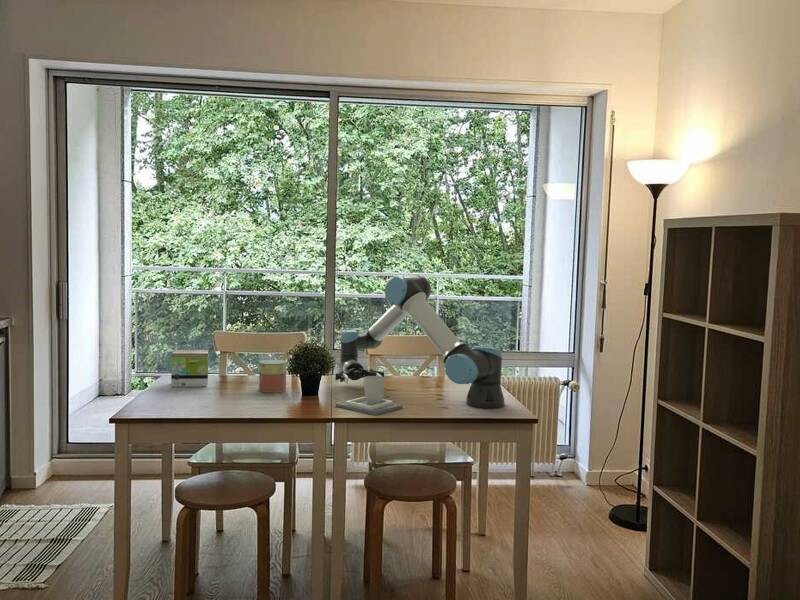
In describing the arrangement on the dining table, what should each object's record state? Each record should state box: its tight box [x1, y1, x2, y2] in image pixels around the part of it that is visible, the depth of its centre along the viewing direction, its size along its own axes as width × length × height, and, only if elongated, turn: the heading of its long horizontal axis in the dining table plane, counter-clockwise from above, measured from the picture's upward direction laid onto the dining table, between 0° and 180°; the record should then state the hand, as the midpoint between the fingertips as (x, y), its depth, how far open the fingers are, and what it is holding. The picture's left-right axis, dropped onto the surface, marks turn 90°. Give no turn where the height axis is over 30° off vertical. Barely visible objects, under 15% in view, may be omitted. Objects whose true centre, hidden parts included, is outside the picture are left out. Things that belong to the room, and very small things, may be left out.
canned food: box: [258, 358, 287, 393], centre depth 312 cm, size 11×11×12 cm
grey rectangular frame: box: [335, 396, 403, 416], centre depth 286 cm, size 20×16×2 cm
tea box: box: [170, 349, 209, 388], centre depth 318 cm, size 15×10×15 cm
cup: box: [363, 376, 386, 405], centre depth 286 cm, size 8×8×10 cm
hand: (364, 379), depth 294 cm, fingers open, 13 cm apart
